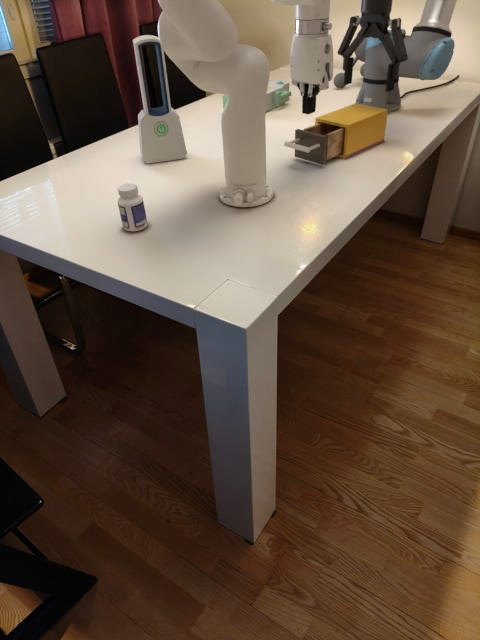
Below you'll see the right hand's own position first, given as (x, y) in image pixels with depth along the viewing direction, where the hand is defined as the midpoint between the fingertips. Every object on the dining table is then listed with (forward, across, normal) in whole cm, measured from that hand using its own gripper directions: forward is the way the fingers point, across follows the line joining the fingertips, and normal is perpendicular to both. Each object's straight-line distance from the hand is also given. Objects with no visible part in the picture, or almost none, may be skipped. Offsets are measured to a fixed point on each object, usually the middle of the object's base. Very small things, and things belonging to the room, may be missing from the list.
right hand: (367, 87), depth 134 cm
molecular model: (+14, +40, -53) cm, 68 cm away
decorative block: (+14, +51, -8) cm, 54 cm away
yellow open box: (+14, 0, +6) cm, 16 cm away
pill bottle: (+14, +5, +76) cm, 78 cm away
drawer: (+13, 0, +19) cm, 23 cm away
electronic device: (+14, +35, +46) cm, 60 cm away
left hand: (+1, 0, +25) cm, 25 cm away
